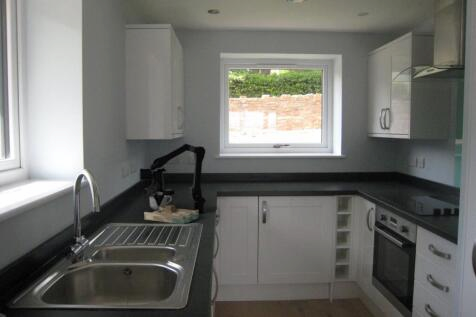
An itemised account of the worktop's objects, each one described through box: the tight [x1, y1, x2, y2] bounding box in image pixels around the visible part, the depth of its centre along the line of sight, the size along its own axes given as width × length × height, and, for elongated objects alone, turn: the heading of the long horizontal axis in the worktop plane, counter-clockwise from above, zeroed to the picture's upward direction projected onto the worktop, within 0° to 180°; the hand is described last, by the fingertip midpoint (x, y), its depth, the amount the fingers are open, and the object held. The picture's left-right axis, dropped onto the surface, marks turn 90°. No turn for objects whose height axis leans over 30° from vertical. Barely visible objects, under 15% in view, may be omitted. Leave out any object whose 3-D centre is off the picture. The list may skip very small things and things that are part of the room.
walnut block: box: [165, 204, 176, 214], centre depth 213 cm, size 4×4×4 cm
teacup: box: [149, 195, 172, 210], centre depth 236 cm, size 14×11×8 cm
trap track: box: [143, 207, 200, 225], centre depth 209 cm, size 15×26×4 cm, turn 66°
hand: (158, 206), depth 216 cm, fingers closed
